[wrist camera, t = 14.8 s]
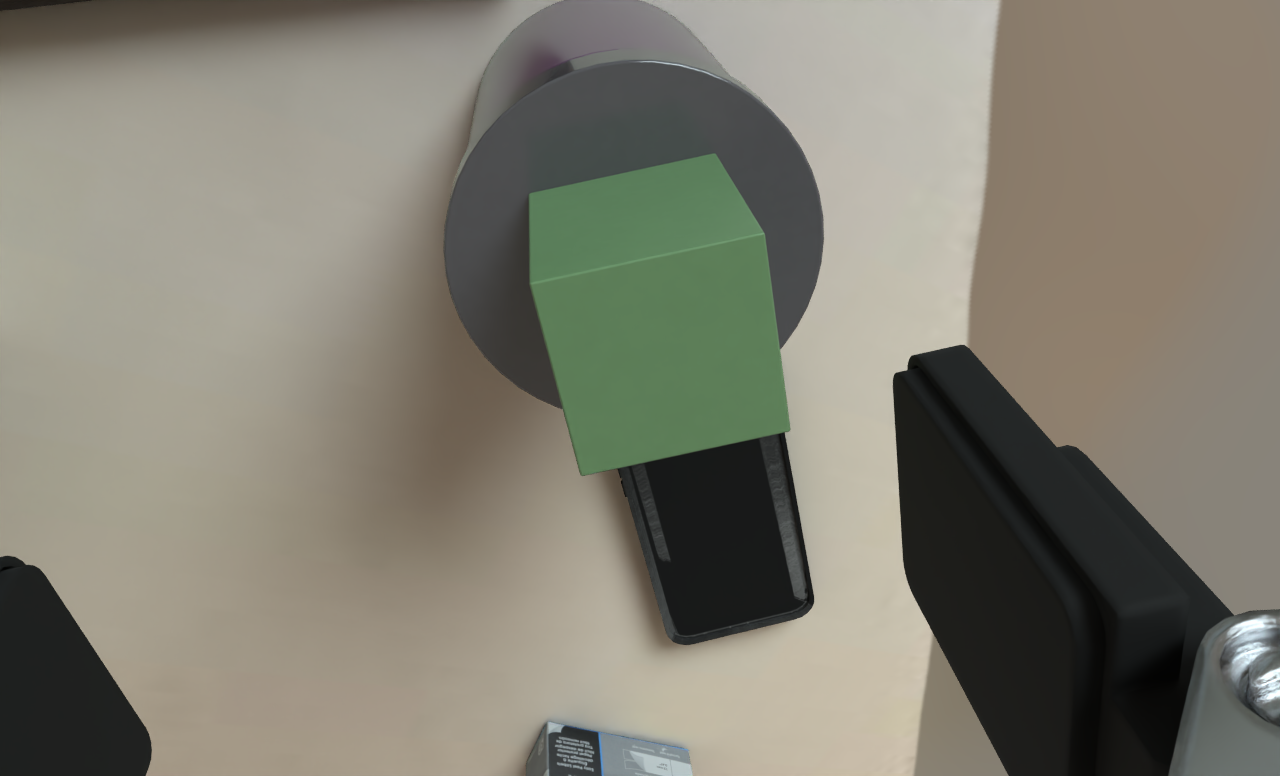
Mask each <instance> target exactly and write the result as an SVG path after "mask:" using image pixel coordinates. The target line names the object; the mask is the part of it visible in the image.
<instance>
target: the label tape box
mask: <svg viewBox="0 0 1280 776" xmlns="http://www.w3.org/2000/svg"><path fill="white" fill-rule="evenodd" d="M526 776H693V774H692V767H691V763H690V757H689V750H687V749H683V748H678V747H673V746H667V745H662V744H657V743H652V742H647V741H642V740H637V739H632V738H627V737H622V736H617V735H612V734H606V733H602V732H597V731H592V730H587V729H582V728H577V727H572V726H567V725H562V724H557V723H552V722H547V723H546V725H545V727H544V728H543V730H542V732H541V734H540V736H539V738H538V740H537V742H536V744H535V746H534V749H533V750H532V752H531V754H530V756H529V758H528V760H527V763H526Z"/></svg>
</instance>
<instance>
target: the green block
mask: <svg viewBox="0 0 1280 776" xmlns="http://www.w3.org/2000/svg"><path fill="white" fill-rule="evenodd" d="M529 284H530V289H531V292H532V296H533V300H534V304H535V307H536V311H537V315H538V319H539V322H540V326H541V330H542V334H543V337H544V341H545V345H546V348H547V352H548V356H549V360H550V363H551V367H552V371H553V375H554V378H555V382H556V386H557V390H558V393H559V397H560V401H561V405H562V408H563V412H564V416H565V419H566V423H567V427H568V431H569V434H570V438H571V442H572V446H573V449H574V453H575V457H576V461H577V464H578V468H579V472H580V474H581V476H585V475H590V474H594V473H599V472H603V471H608V470H613V469H617V468H622V467H627V466H631V465H636V464H640V463H645V462H650V461H654V460H659V459H664V458H668V457H673V456H678V455H682V454H687V453H691V452H696V451H701V450H705V449H710V448H715V447H719V446H724V445H728V444H733V443H738V442H742V441H747V440H752V439H756V438H761V437H765V436H770V435H775V434H779V433H784V432H788V431H790V423H789V415H788V407H787V400H786V392H785V384H784V377H783V369H782V361H781V354H780V346H779V338H778V331H777V323H776V316H775V308H774V300H773V293H772V285H771V277H770V270H769V262H768V254H767V247H766V239H765V233H764V232H763V230H762V229H761V227H760V225H759V224H758V222H757V220H756V219H755V217H754V216H753V214H752V212H751V211H750V209H749V207H748V206H747V204H746V202H745V201H744V199H743V198H742V196H741V194H740V193H739V191H738V189H737V188H736V186H735V185H734V183H733V181H732V180H731V178H730V176H729V175H728V173H727V171H726V170H725V168H724V167H723V165H722V163H721V162H720V160H719V158H718V157H717V155H716V154H714V153H713V154H709V155H704V156H700V157H695V158H690V159H686V160H681V161H677V162H672V163H667V164H663V165H658V166H653V167H649V168H644V169H640V170H635V171H630V172H626V173H621V174H617V175H612V176H607V177H603V178H598V179H594V180H589V181H584V182H580V183H575V184H570V185H566V186H561V187H557V188H552V189H547V190H543V191H538V192H534V193H530V194H529Z"/></svg>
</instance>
